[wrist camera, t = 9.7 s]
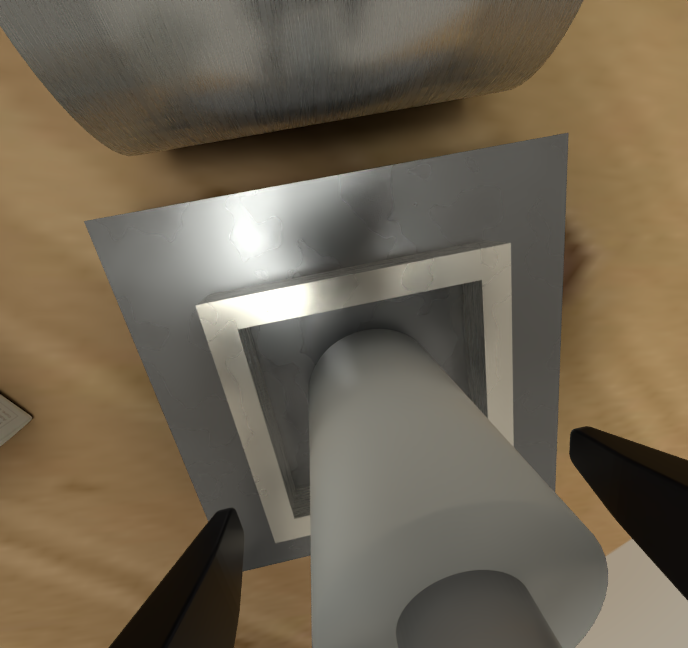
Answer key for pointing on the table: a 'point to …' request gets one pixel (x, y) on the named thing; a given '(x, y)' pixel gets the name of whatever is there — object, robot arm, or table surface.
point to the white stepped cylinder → (433, 515)
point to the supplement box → (11, 419)
